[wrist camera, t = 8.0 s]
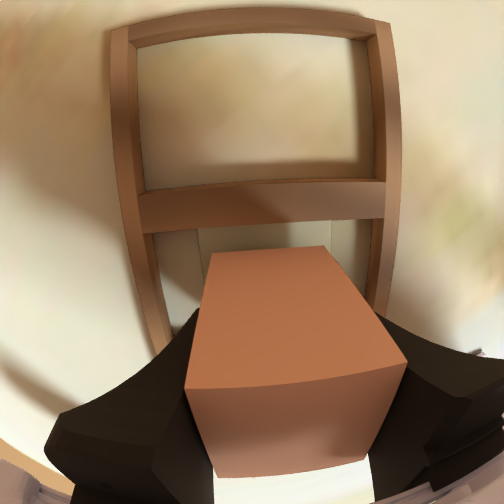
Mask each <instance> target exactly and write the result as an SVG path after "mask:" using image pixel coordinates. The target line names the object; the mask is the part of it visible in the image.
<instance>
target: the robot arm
mask: <svg viewBox="0 0 504 504" xmlns="http://www.w3.org/2000/svg"><path fill="white" fill-rule="evenodd" d="M199 310H200V308H197V309H196V310H195V312H194V313H193V314H192V315H191V317H190V318H189V319H188V321H187V322H186V323H185V325H184V326H183V327H182V328H181V330H180V331H179V332H178V333H177V334H176V335H175V337H174V338H173V339H172V340H171V341H170V342H169V344H168V345H167V346H166V347H165V348H164V349H163V350H162V351H161V352H160V353H159V354H158V355H157V356H156V357H155V358H154V359H153V360H152V361H151V362H150V363H148V364H147V365H146V366H145V367H144V368H142V369H141V370H140V371H139V372H137V373H136V374H135V375H133V376H132V377H130V378H129V379H127V380H126V381H125V382H123V383H122V384H120V385H119V386H117V387H116V388H114V389H112V390H111V391H109V392H107V393H106V394H104V395H102V396H100V397H98V398H96V399H94V400H92V401H90V402H88V403H86V404H83V405H81V406H79V407H76V408H74V409H71V410H69V411H66V412H64V413H61V414H60V415H59V416H58V418H57V420H56V422H55V425H54V427H53V429H52V431H51V433H50V435H49V437H48V440H47V442H46V444H45V446H44V453H45V455H46V456H47V458H48V460H49V461H50V462H51V463H52V464H53V465H54V466H55V467H56V468H57V469H58V470H59V471H60V472H61V473H63V474H64V475H65V476H66V477H67V478H68V479H69V480H71V481H72V482H73V483H74V484H75V487H74V491H73V494H72V496H70V495H67V494H65V493H62V492H59V491H57V490H54V489H52V488H49V487H47V486H45V485H43V484H41V483H40V482H39V481H38V480H37V479H36V478H34V477H33V476H32V475H31V474H29V473H28V472H26V471H25V470H23V469H21V468H19V467H18V466H15V465H14V464H12V463H10V462H8V461H6V460H4V459H1V460H0V504H214V488H213V465H212V463H211V461H210V458H209V456H208V453H207V451H206V448H205V446H204V443H203V440H202V438H201V435H200V433H199V430H198V427H197V424H196V422H195V419H194V416H193V413H192V410H191V408H190V405H189V402H188V399H187V396H186V393H185V390H184V387H185V381H186V376H187V370H188V365H189V360H190V355H191V350H192V344H193V339H194V334H195V329H196V325H197V320H198V315H199ZM373 312H374V313H375V314H376V316H377V317H378V319H379V320H380V321H381V323H382V324H383V326H384V327H385V329H386V330H387V331H388V333H389V334H390V336H391V337H392V339H393V340H394V342H395V343H396V345H397V346H398V348H399V349H400V351H401V352H402V354H403V355H404V357H405V358H406V360H407V361H408V363H407V366H406V368H405V371H404V374H403V376H402V379H401V382H400V384H399V387H398V389H397V392H396V394H395V397H394V399H393V401H392V404H391V406H390V408H389V410H388V413H387V415H386V417H385V419H384V421H383V423H382V426H381V428H380V430H379V432H378V434H377V436H376V438H375V440H374V442H373V444H372V445H371V447H370V449H369V451H368V457H369V462H370V468H371V473H372V480H373V488H374V497H375V502H373V503H370V504H429V503H431V502H433V501H435V502H433V503H432V504H504V359H496V358H487V357H486V354H485V353H484V352H482V353H480V354H477V355H471V354H467V353H463V352H459V351H456V350H452V349H449V348H446V347H443V346H440V345H438V344H435V343H432V342H430V341H428V340H426V339H423V338H421V337H419V336H416V335H414V334H412V333H410V332H408V331H407V330H405V329H403V328H401V327H399V326H398V325H396V324H394V323H392V322H391V321H389V320H387V319H386V318H384V317H383V316H381V315H379V314H378V313H376V312H375V311H373Z"/></svg>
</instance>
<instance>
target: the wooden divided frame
mask: <svg viewBox="0 0 504 504" xmlns="http://www.w3.org/2000/svg"><path fill="white" fill-rule="evenodd" d="M244 33H295V34H311V35H323V36H333V37H341V38H348V39H355V40H361V41H366V43H367V51H368V58H369V67H370V77H371V87H372V100H373V117H374V151H375V171H374V178H317V179H284V180H263V181H247V182H232V183H219V184H208V185H197V186H187V187H177V188H168V189H160V190H152V191H145V183H144V175H143V165H142V156H141V144H140V132H139V117H138V96H137V49H138V48H142V47H146V46H151V45H156V44H161V43H166V42H171V41H177V40H183V39H190V38H198V37H206V36H215V35H227V34H244ZM110 104H111V124H112V138H113V150H114V160H115V169H116V177H117V185H118V192H119V199H120V206H121V212H122V218H123V224H124V229H125V235H126V240H127V245H128V250H129V255H130V259H131V264H132V268H133V273H134V277H135V281H136V285H137V289H138V293H139V297H140V301H141V305H142V308H143V312H144V316H145V319H146V323H147V326H148V330H149V333H150V336H151V339H152V343H153V346H154V349H155V352H156V355H158V354H159V353H160V352H161V351H162V350H163V349H164V348H165V347H166V346H167V345H168V344H169V342H170V341H171V340H172V339H173V338H174V337H173V333H172V329H171V325H170V321H169V317H168V312H167V308H166V304H165V299H164V295H163V290H162V285H161V281H160V276H159V271H158V266H157V260H156V255H155V250H154V244H153V238H152V233H155V232H166V231H178V230H190V229H197V232H198V240H199V248H200V256H201V263H202V271H203V278H204V285H205V282H206V278H207V273H208V269H209V265H210V260H211V256H212V253H219V252H234V251H248V250H263V249H278V248H292V247H307V246H322V245H324V246H325V247H326V249H327V250H328V251H329V253H331V225H332V220H350V219H373V223H372V237H371V248H370V259H369V268H368V276H367V284H366V292H365V300H366V302H367V303H368V305H369V306H370V307H371V309H372V310H373V311H375V312H376V313H378V314H379V315H381V316H383V317H384V318H385V314H386V309H387V303H388V298H389V293H390V287H391V281H392V274H393V268H394V261H395V253H396V245H397V236H398V226H399V214H400V200H401V178H402V128H401V107H400V93H399V82H398V73H397V65H396V57H395V50H394V44H393V38H392V32H391V27H390V23H387V22H383V21H379V20H374V19H370V18H365V17H360V16H354V15H348V14H342V13H335V12H327V11H319V10H308V9H294V8H236V9H221V10H211V11H202V12H194V13H187V14H181V15H175V16H169V17H164V18H159V19H154V20H150V21H146V22H142V23H138V24H134V25H130V26H126V27H123V28H119V29H116V30H113V31H111V47H110Z"/></svg>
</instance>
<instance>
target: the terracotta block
mask: <svg viewBox="0 0 504 504" xmlns="http://www.w3.org/2000/svg"><path fill="white" fill-rule="evenodd" d="M407 363H408V361H407V360H406V358H405V357H404V355H403V354H402V352H401V351H400V349H399V348H398V346H397V345H396V343H395V342H394V340H393V339H392V337H391V336H390V334H389V333H388V331H387V330H386V329H385V327H384V326H383V324H382V323H381V321H380V320H379V319H378V317H377V316H376V314H375V313H374V312H373V310H372V309H371V307H370V306H369V305H368V303H367V302H366V300H365V299H364V298H363V296H362V295H361V294H360V292H359V291H358V290H357V288H356V287H355V285H354V284H353V283H352V281H351V280H350V279H349V277H348V276H347V275H346V273H345V272H344V271H343V269H342V268H341V267H340V266H339V264H338V263H337V262H336V260H335V259H334V258H333V256H332V255H331V254H330V253H329V251H328V250H327V249H326V247H325V246H324V245H322V246H307V247H292V248H278V249H263V250H248V251H234V252H219V253H212V256H211V260H210V265H209V269H208V273H207V278H206V282H205V287H204V291H203V296H202V301H201V305H200V310H199V315H198V320H197V325H196V329H195V334H194V339H193V344H192V350H191V355H190V360H189V365H188V370H187V376H186V381H185V387H184V390H185V393H186V396H187V399H188V402H189V405H190V408H191V410H192V413H193V416H194V419H195V422H196V424H197V427H198V430H199V433H200V435H201V438H202V440H203V443H204V446H205V448H206V451H207V453H208V456H209V458H210V461H211V463H212V465H213V468H214V470H215V472H216V475H217V477H218V478H244V477H262V476H275V475H284V474H293V473H300V472H307V471H313V470H319V469H325V468H330V467H335V466H340V465H344V464H348V463H353V462H357V461H361V460H364V458H365V457H366V455H367V453H368V451H369V449H370V447H371V445H372V444H373V442H374V440H375V438H376V436H377V434H378V432H379V430H380V428H381V426H382V423H383V421H384V419H385V417H386V415H387V413H388V410H389V408H390V406H391V404H392V401H393V399H394V397H395V394H396V392H397V389H398V387H399V384H400V382H401V379H402V376H403V374H404V371H405V368H406V366H407Z"/></svg>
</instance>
